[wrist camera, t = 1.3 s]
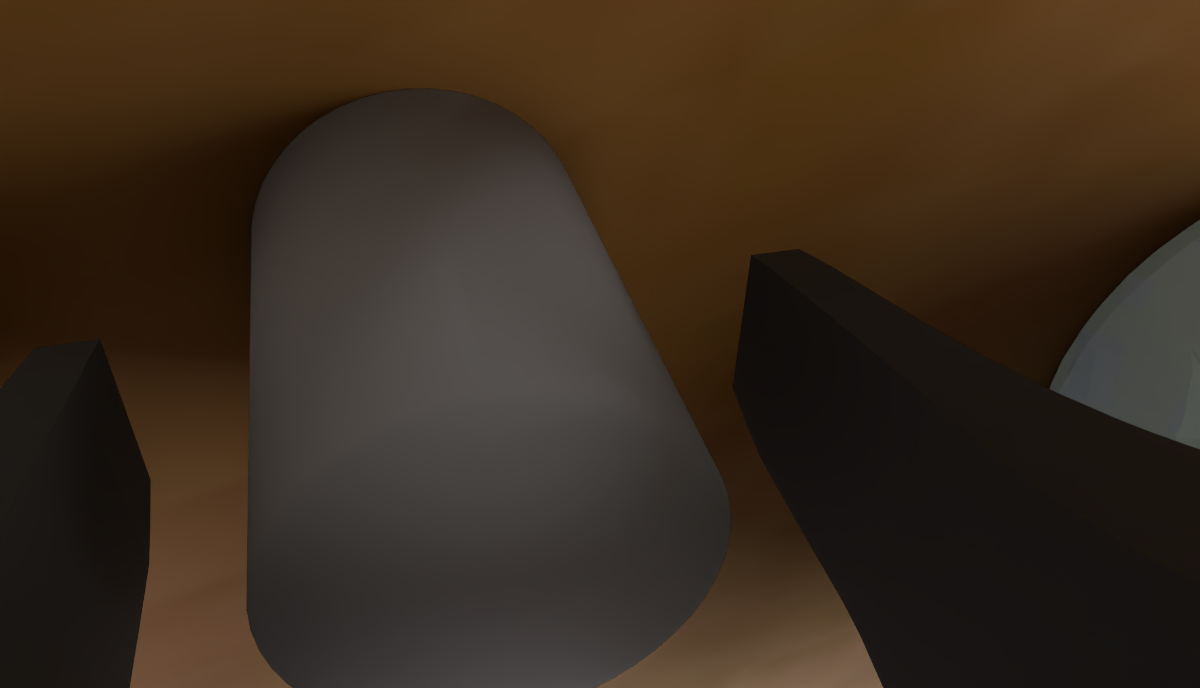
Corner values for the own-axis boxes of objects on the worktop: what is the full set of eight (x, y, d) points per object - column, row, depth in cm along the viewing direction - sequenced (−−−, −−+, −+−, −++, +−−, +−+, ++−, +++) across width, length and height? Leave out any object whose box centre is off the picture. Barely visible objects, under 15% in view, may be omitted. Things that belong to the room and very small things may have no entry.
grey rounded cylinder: (575, 345, 15) (708, 672, 11) (283, 388, 14) (292, 767, 10) (578, 74, 13) (756, 356, 8) (218, 104, 12) (193, 443, 7)
